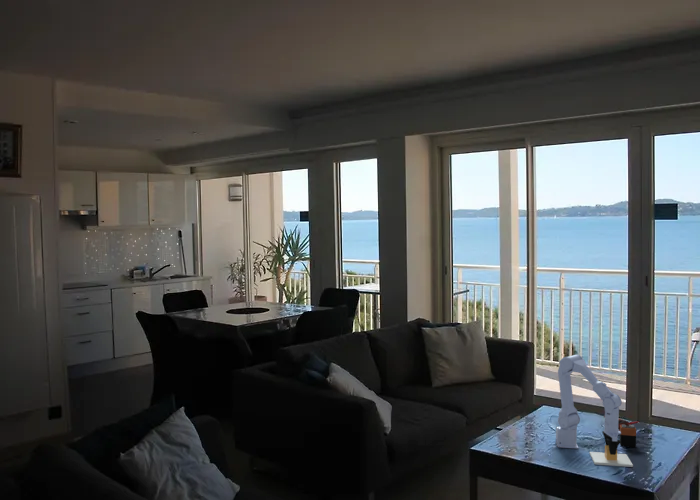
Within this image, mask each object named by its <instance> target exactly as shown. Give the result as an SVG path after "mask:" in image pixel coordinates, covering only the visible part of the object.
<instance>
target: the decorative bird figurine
mask: <svg viewBox="0 0 700 500" xmlns="http://www.w3.org/2000/svg"><path fill="white" fill-rule="evenodd" d="M603 418H605V415H604V416H603ZM638 423H640V421H628V420H625V419H623V418H619V421H618V431H620V425H626V426H629V425H636V424H638Z"/></svg>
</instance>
